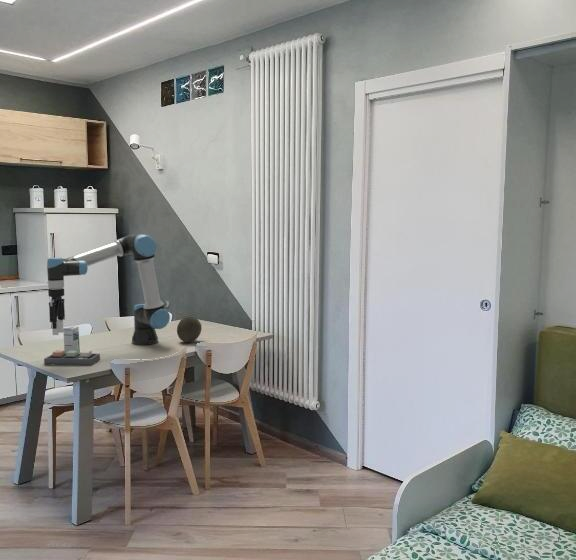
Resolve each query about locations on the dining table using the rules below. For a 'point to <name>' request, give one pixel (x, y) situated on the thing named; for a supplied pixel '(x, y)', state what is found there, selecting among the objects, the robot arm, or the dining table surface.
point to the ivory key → (85, 353)
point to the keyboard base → (72, 360)
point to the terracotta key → (58, 353)
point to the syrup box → (71, 339)
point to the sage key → (72, 353)
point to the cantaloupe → (189, 329)
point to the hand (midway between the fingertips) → (58, 333)
